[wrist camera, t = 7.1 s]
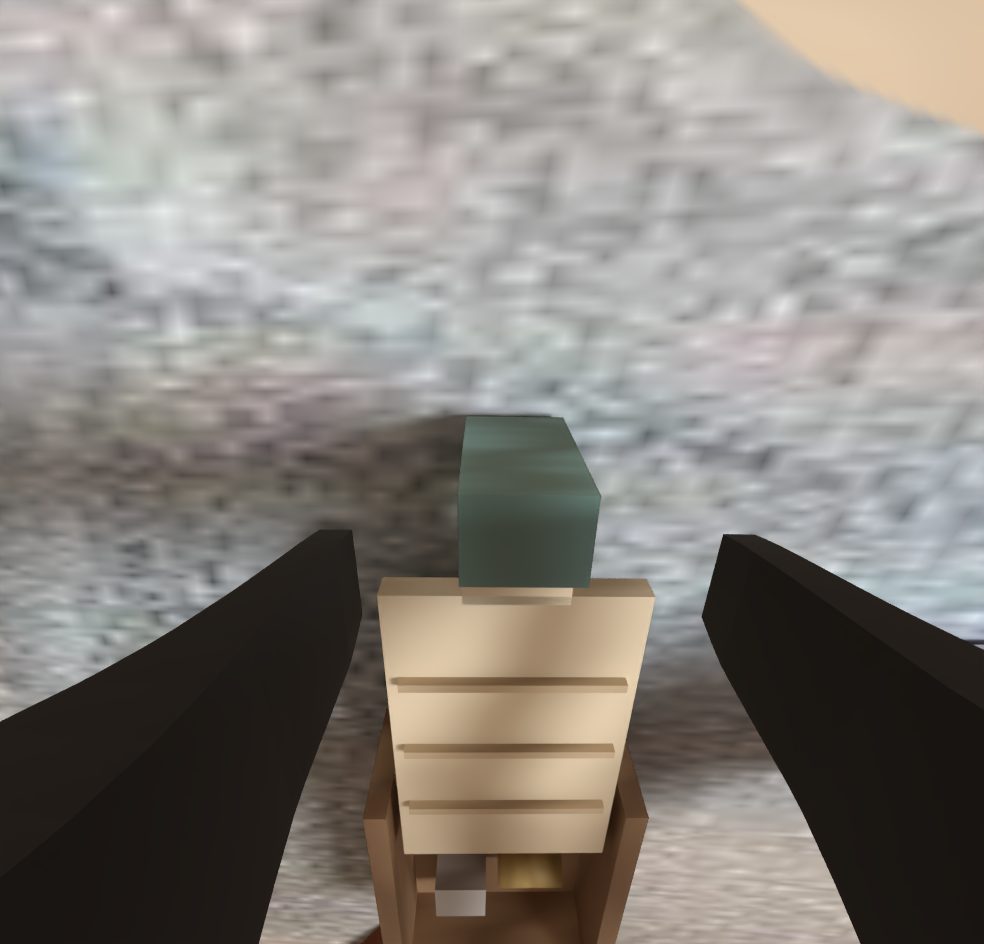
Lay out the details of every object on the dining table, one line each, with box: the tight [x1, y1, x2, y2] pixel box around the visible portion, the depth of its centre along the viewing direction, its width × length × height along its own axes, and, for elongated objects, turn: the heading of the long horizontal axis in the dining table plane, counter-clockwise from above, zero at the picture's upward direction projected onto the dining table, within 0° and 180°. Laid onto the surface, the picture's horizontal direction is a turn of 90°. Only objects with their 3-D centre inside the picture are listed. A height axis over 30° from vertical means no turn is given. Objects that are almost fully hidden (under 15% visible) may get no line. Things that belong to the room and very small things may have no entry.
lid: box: [377, 416, 655, 854], centre depth 16 cm, size 8×16×5 cm, turn 179°
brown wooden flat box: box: [363, 708, 649, 944], centre depth 21 cm, size 10×14×4 cm
